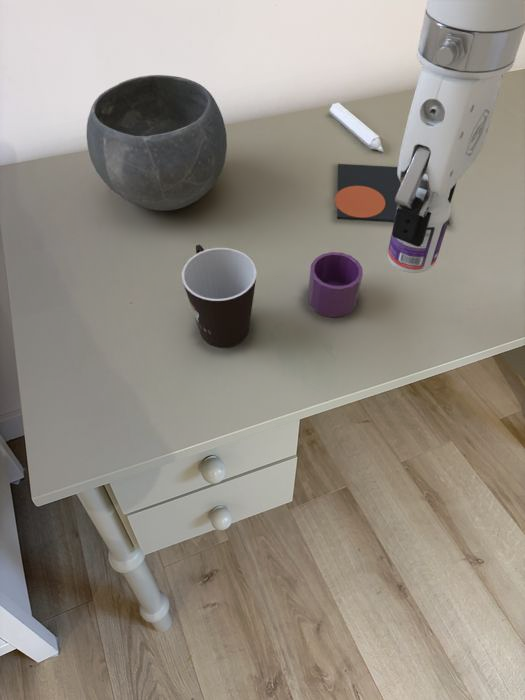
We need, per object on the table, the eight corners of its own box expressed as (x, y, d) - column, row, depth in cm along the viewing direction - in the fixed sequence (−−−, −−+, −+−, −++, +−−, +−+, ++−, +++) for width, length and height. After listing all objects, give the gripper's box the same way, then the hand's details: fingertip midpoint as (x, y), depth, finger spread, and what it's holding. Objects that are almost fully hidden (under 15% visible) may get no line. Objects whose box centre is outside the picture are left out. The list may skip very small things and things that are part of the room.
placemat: (438, 171, 89) (439, 168, 89) (448, 225, 81) (449, 222, 81) (335, 165, 90) (335, 163, 90) (333, 218, 82) (334, 215, 82)
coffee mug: (256, 355, 66) (255, 301, 58) (188, 354, 66) (177, 300, 58) (258, 287, 73) (257, 231, 65) (196, 287, 73) (188, 230, 65)
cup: (356, 283, 74) (362, 253, 69) (356, 319, 70) (363, 290, 65) (308, 280, 74) (311, 250, 70) (306, 315, 70) (309, 286, 66)
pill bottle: (415, 236, 62) (435, 161, 54) (445, 264, 59) (471, 189, 51) (377, 251, 60) (391, 176, 52) (405, 281, 57) (426, 206, 49)
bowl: (176, 142, 95) (164, 55, 83) (256, 193, 86) (255, 103, 74) (79, 191, 86) (50, 101, 74) (157, 253, 77) (137, 162, 65)
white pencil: (381, 160, 92) (332, 117, 101) (391, 152, 92) (341, 109, 101) (378, 151, 90) (327, 107, 99) (388, 142, 90) (336, 99, 98)
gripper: (473, 97, 36) (417, 286, 50) (552, 11, 44) (484, 194, 58) (374, 69, 38) (348, 256, 53) (466, -7, 47) (421, 173, 61)
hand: (420, 222), depth 55 cm, fingers closed on pill bottle, 5 cm apart
